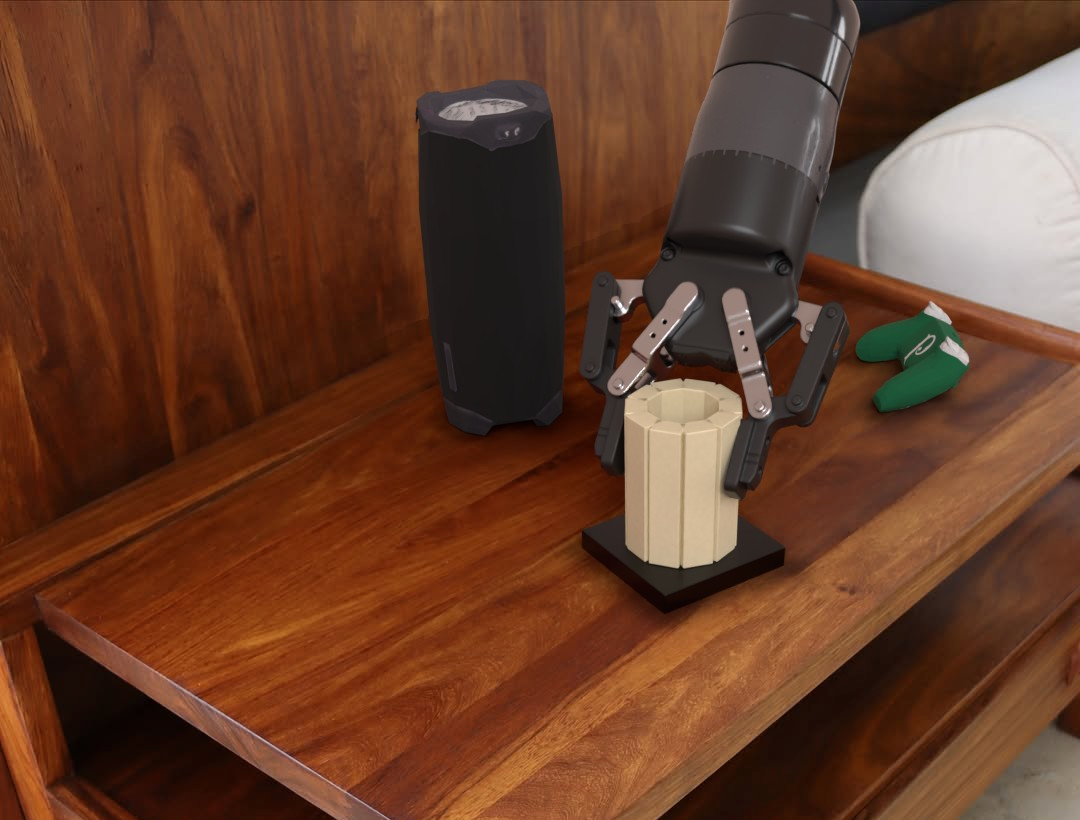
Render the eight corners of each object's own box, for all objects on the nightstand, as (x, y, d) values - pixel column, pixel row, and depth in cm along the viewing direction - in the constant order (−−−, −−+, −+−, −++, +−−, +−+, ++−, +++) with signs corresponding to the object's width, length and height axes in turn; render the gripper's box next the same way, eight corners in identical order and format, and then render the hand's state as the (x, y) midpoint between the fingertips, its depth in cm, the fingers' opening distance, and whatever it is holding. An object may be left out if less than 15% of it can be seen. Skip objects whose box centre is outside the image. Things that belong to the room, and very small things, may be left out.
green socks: (907, 442, 93) (985, 379, 90) (870, 404, 91) (947, 339, 89) (883, 378, 100) (955, 318, 97) (848, 342, 99) (920, 280, 96)
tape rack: (696, 504, 85) (699, 391, 80) (784, 565, 79) (792, 447, 75) (581, 547, 82) (578, 432, 77) (664, 614, 76) (665, 494, 72)
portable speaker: (536, 368, 100) (522, 66, 87) (592, 426, 93) (586, 107, 81) (418, 395, 97) (387, 87, 85) (467, 455, 91) (441, 131, 78)
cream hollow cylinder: (691, 498, 83) (694, 368, 78) (759, 545, 79) (767, 411, 74) (603, 530, 81) (601, 399, 76) (669, 581, 77) (670, 445, 72)
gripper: (606, 131, 76) (522, 439, 75) (880, 158, 71) (794, 487, 70) (643, 199, 83) (566, 481, 82) (894, 227, 78) (816, 527, 77)
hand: (671, 482), depth 76 cm, fingers closed on cream hollow cylinder, 6 cm apart
